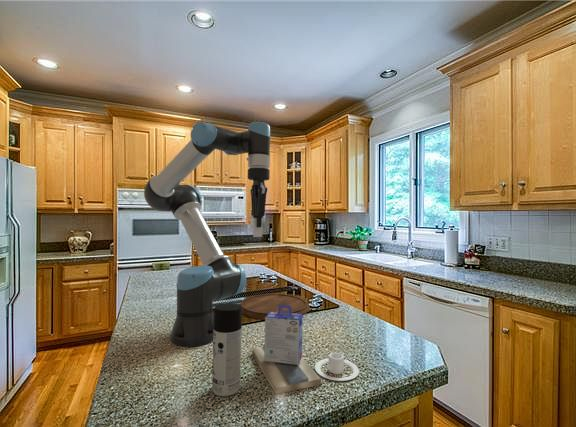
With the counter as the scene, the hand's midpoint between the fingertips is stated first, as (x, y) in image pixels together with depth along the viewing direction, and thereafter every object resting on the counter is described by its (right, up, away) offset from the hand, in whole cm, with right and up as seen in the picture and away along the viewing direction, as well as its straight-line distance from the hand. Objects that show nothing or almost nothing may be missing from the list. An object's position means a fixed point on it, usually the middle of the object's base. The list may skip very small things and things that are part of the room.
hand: (257, 236), depth 105 cm
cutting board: (+4, -35, +32) cm, 48 cm away
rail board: (+9, -35, -21) cm, 41 cm away
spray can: (-4, -35, -31) cm, 47 cm away
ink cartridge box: (+9, -33, -21) cm, 40 cm away
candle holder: (+24, -36, -21) cm, 48 cm away
